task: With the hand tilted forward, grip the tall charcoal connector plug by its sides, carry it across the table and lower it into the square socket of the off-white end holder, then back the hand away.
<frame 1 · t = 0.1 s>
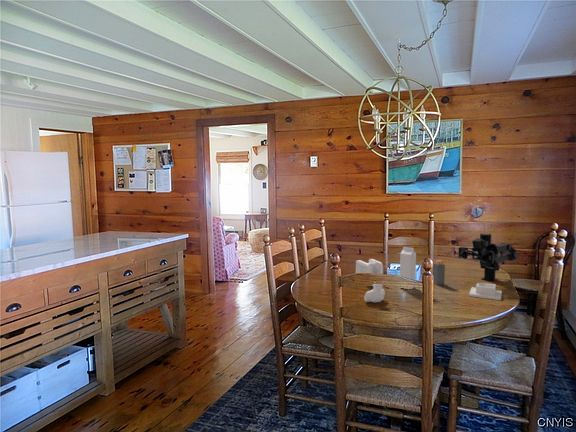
hand: (468, 256, 215), 17 cm above the table, tool horizontal, fingers open, 9 cm apart
cable organizer: (368, 281, 231), on the table
milk: (407, 288, 217), on the table
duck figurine: (375, 302, 195), on the table
end holder: (485, 294, 205), on the table
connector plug: (438, 283, 225), on the table
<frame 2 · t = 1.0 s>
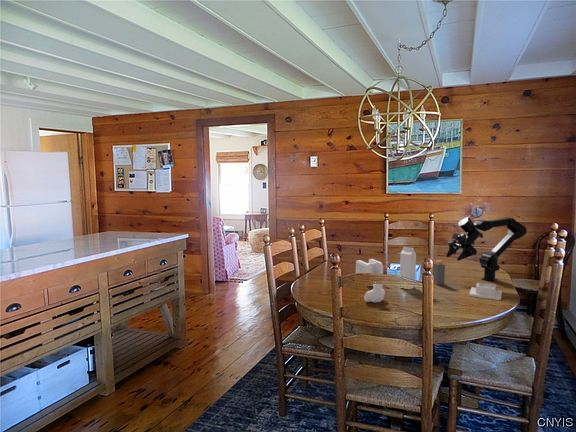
hand: (452, 258, 225), 14 cm above the table, tool tilted 45°, fingers open, 9 cm apart
nothing on the table moved.
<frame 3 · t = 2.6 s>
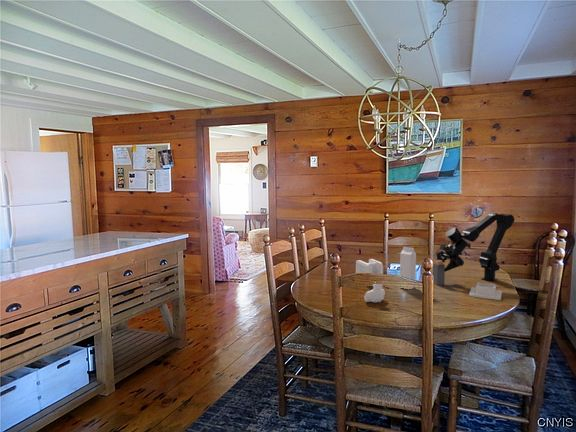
hand: (439, 269, 224), 8 cm above the table, tool tilted 45°, fingers open, 9 cm apart
nothing on the table moved.
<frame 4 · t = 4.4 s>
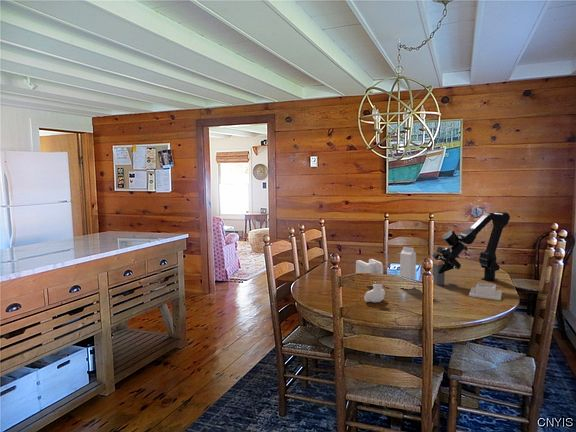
hand: (436, 272, 224), 7 cm above the table, tool tilted 45°, fingers closed on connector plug, 4 cm apart
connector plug: (438, 283, 225), on the table, touching gripper
everything else where it was.
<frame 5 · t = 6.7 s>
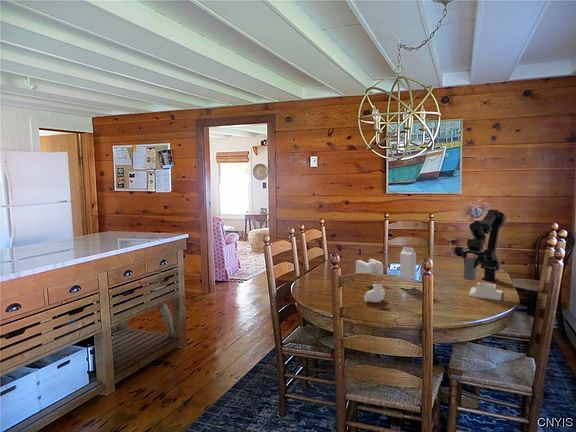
hand: (469, 266, 207), 13 cm above the table, tool tilted 45°, fingers closed on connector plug, 4 cm apart
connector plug: (469, 279, 208), point 7 cm above the table, touching gripper
everything else where it was.
when the fingers open (9 cm above the table, at t = 9.0 s): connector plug drops 1 cm, resting on end holder.
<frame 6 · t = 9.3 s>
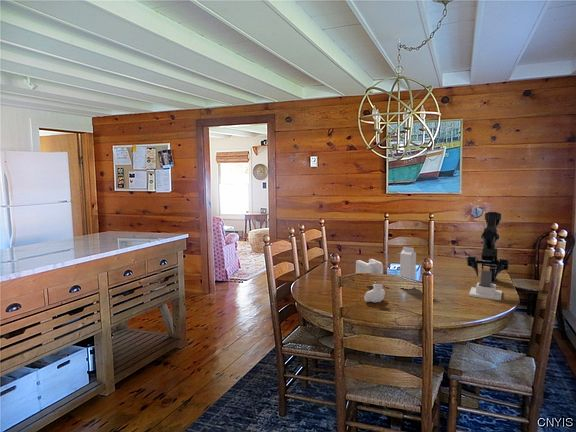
hand: (486, 277, 203), 9 cm above the table, tool tilted 45°, fingers open, 8 cm apart
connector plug: (485, 292, 205), point 1 cm above the table, touching end holder
everything else where it was.
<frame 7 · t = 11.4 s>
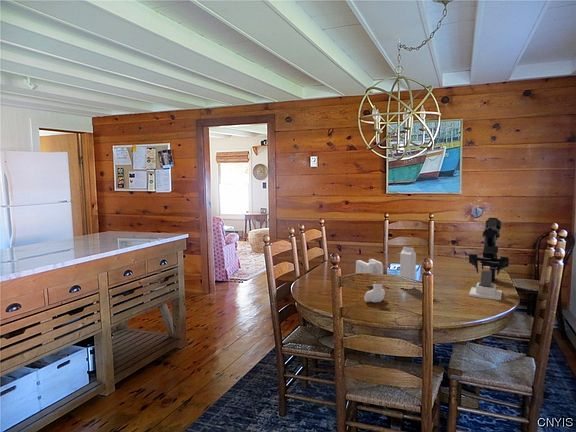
hand: (487, 273, 210), 9 cm above the table, tool tilted 45°, fingers open, 9 cm apart
nothing on the table moved.
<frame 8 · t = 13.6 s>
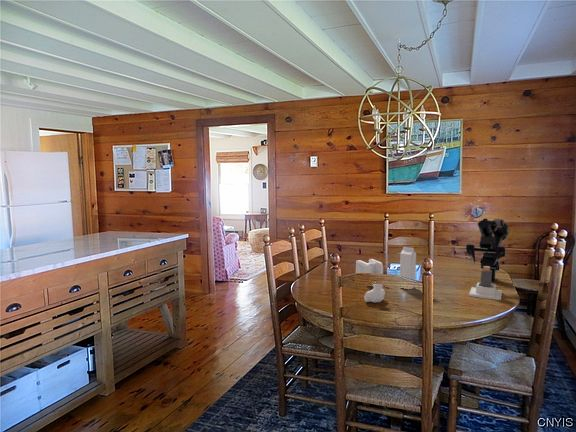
hand: (484, 263, 213), 14 cm above the table, tool tilted 45°, fingers open, 9 cm apart
nothing on the table moved.
at the end: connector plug 0.1 cm off-centre on the end holder, point 1.2 cm above the end holder's base; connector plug tilted 0°; the gripper is holding nothing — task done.
